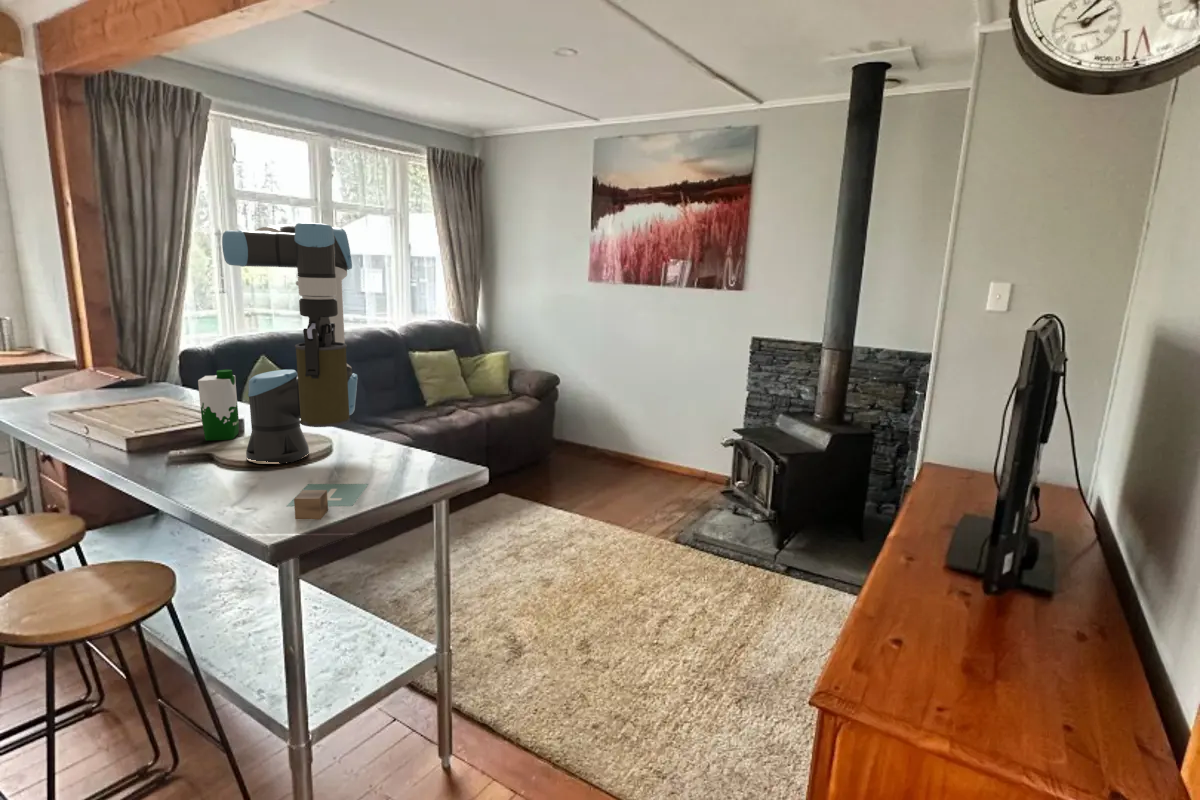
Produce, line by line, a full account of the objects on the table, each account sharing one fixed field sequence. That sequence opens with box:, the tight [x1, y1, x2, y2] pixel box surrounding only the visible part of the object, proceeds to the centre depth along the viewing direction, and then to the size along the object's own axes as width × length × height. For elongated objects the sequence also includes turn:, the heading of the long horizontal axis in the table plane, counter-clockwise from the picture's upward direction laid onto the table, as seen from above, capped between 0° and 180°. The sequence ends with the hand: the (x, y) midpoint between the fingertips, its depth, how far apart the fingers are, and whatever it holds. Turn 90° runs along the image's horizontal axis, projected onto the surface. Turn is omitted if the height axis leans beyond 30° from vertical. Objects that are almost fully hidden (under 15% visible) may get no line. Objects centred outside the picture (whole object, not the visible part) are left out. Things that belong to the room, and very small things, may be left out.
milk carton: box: [197, 368, 240, 442], centre depth 183 cm, size 9×9×20 cm
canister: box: [294, 333, 351, 428], centre depth 138 cm, size 11×10×20 cm
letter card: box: [286, 483, 369, 507], centre depth 144 cm, size 14×14×1 cm
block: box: [293, 489, 329, 520], centre depth 132 cm, size 5×5×5 cm
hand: (324, 402), depth 139 cm, fingers open, 6 cm apart
